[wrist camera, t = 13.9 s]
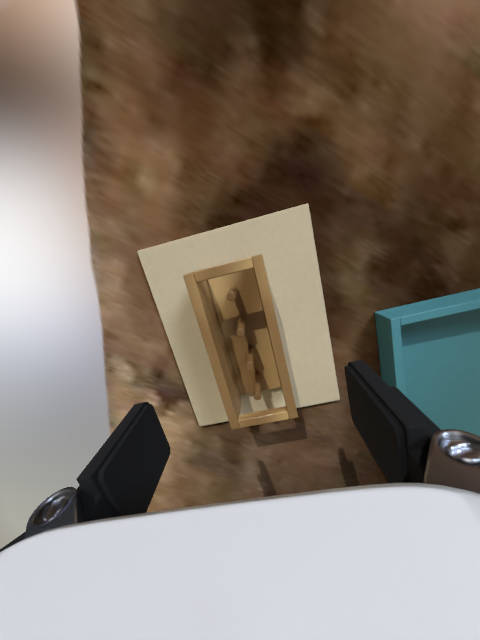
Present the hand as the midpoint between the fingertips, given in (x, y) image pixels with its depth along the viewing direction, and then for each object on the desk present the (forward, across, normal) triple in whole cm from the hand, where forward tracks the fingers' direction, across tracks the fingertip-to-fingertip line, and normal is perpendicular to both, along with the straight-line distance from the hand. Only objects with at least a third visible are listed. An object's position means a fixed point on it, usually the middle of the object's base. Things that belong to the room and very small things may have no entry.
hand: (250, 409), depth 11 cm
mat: (+13, +1, 0) cm, 13 cm away
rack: (+13, +1, 0) cm, 13 cm away
